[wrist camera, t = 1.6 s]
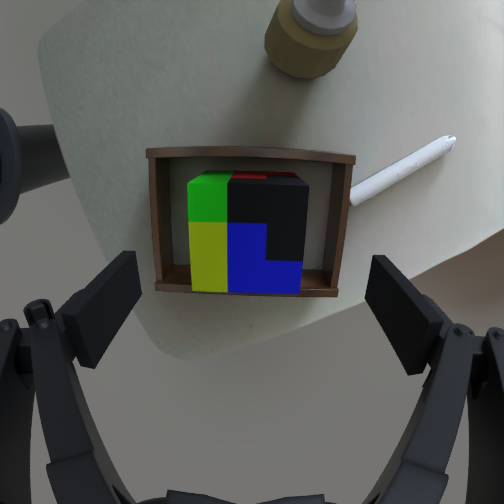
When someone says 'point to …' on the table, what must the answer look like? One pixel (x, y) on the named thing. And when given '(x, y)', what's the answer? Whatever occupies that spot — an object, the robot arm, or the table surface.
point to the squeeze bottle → (310, 35)
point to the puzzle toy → (247, 231)
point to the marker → (400, 169)
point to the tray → (159, 186)
